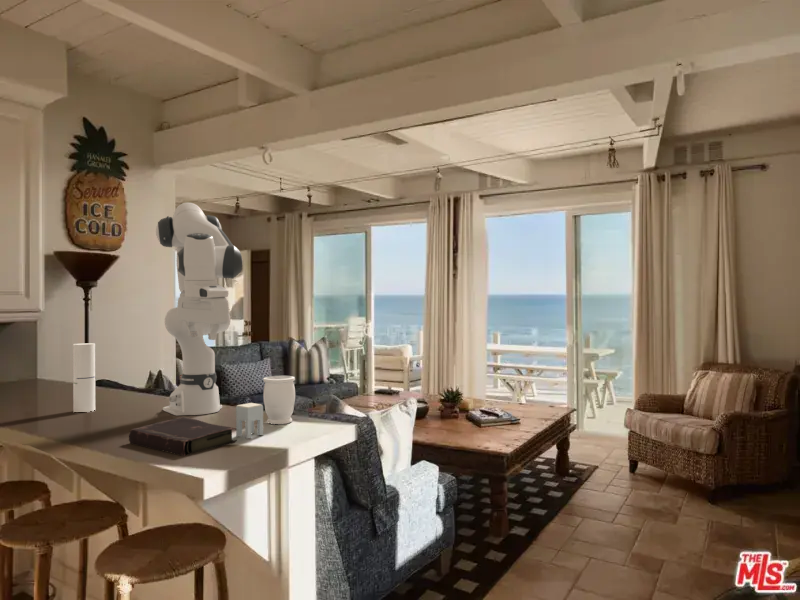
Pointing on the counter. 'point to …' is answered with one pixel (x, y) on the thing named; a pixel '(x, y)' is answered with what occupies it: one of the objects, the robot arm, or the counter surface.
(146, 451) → the counter surface
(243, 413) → the stool
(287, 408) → the jar
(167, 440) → the diary
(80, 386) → the miniature refrigerator
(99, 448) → the counter surface
